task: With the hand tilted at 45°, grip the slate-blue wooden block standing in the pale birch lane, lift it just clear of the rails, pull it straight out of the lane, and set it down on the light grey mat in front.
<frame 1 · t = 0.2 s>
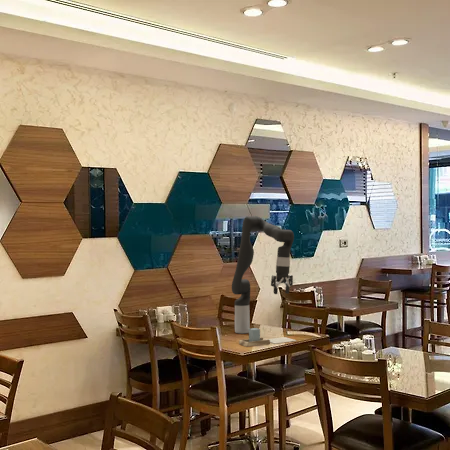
hand: (281, 293, 328), 28 cm above the table, tool pointing down, fingers open, 8 cm apart
slate block: (254, 336, 329), in the shelf lane
shelf lane: (254, 343, 329), on the table
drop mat: (279, 340, 337), on the table
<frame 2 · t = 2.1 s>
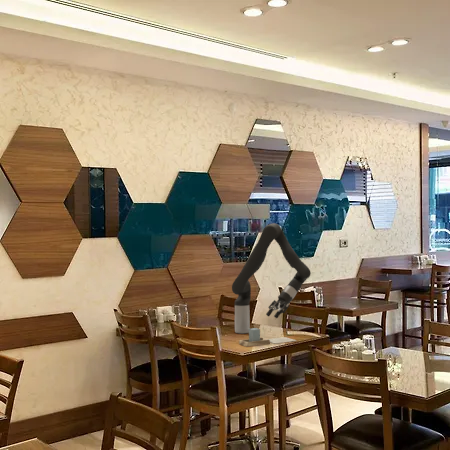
hand: (271, 316, 335), 14 cm above the table, tool tilted 45°, fingers open, 8 cm apart
nothing on the table moved.
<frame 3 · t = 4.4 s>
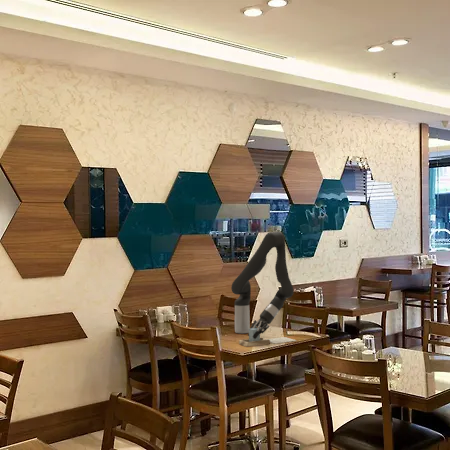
hand: (251, 336, 328), 4 cm above the table, tool tilted 45°, fingers closed on slate block, 4 cm apart
slate block: (254, 336, 329), in the shelf lane, touching gripper
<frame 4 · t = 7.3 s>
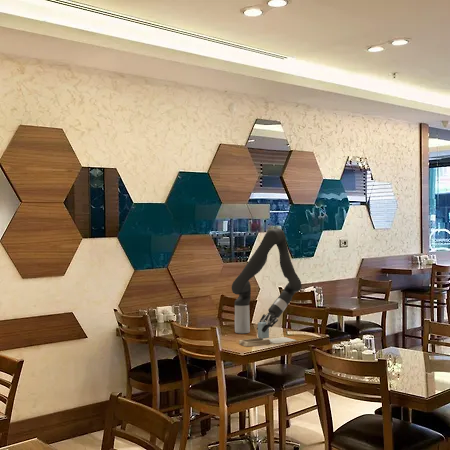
hand: (260, 330, 331), 7 cm above the table, tool tilted 45°, fingers closed on slate block, 4 cm apart
slate block: (263, 330, 332), point 7 cm above the table, touching gripper
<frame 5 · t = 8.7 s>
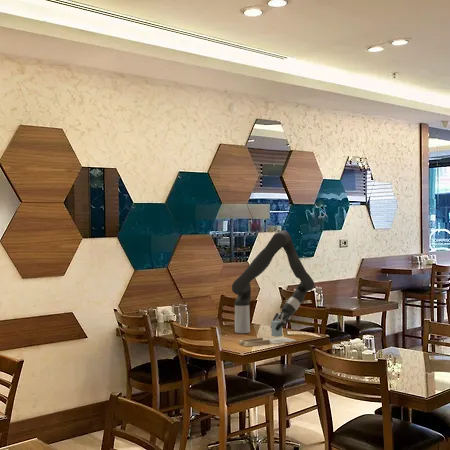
hand: (274, 329, 335), 7 cm above the table, tool tilted 45°, fingers closed on slate block, 4 cm apart
slate block: (276, 328, 336), point 7 cm above the table, touching gripper
when the fingers open (5 cm above the table, at t = 10.0 s): slate block stays where it is, resting on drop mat.
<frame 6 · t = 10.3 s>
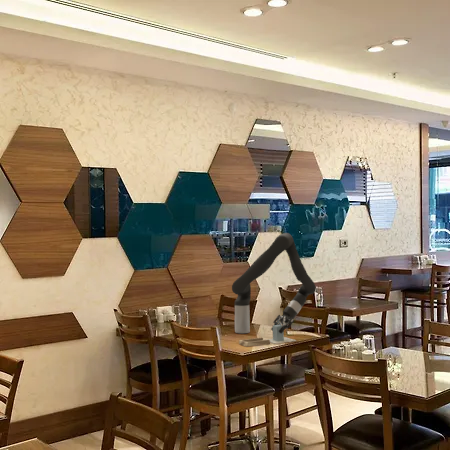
hand: (276, 331, 336), 6 cm above the table, tool tilted 45°, fingers open, 7 cm apart
slate block: (278, 332, 337), resting on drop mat
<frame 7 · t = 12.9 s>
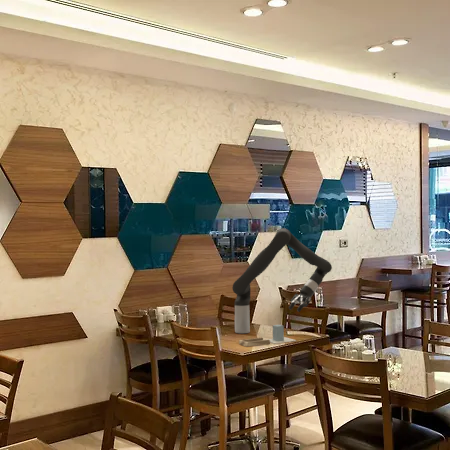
hand: (293, 309, 343), 17 cm above the table, tool tilted 45°, fingers open, 8 cm apart
nothing on the table moved.
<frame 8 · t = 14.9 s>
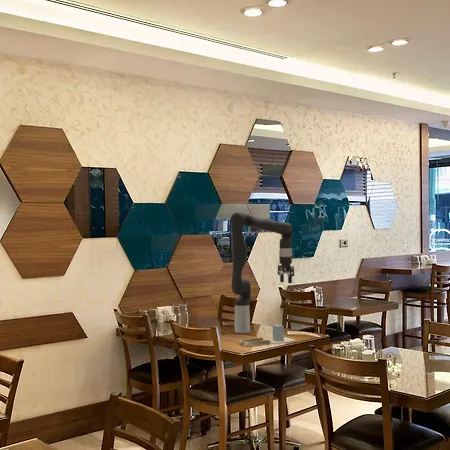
hand: (286, 282, 350), 32 cm above the table, tool pointing down, fingers open, 8 cm apart
nothing on the table moved.
at the end: slate block inside the target area (0.3 cm from its centre), resting on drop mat; slate block tilted 0°; the gripper is holding nothing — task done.
